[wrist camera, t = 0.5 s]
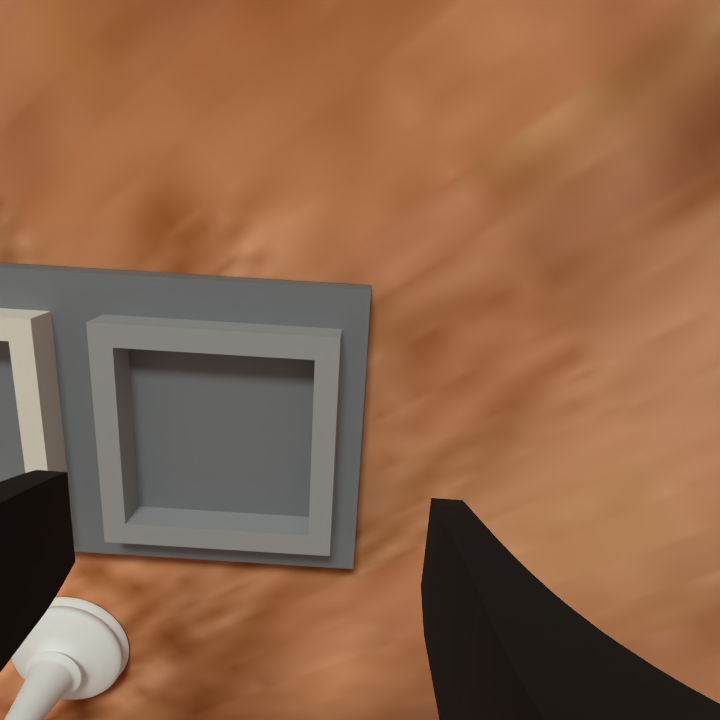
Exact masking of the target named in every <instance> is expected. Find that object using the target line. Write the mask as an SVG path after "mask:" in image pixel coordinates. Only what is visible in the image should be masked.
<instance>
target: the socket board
mask: <svg viewBox="0 0 720 720" xmlns="http://www.w3.org/2000/svg"><path fill="white" fill-rule="evenodd" d="M370 302H371V285H358V284H342V283H325V282H309V281H292V280H276V279H260V278H243V277H227V276H211V275H194V274H178V273H162V272H145V271H129V270H112V269H96V268H80V267H63V266H47V265H31V264H14V263H0V482H1V481H4V480H6V479H9V478H12V477H15V476H18V475H21V474H24V473H27V472H31V471H35V470H45V471H59V472H67V474H68V485H69V496H70V508H71V519H72V530H73V541H74V552H89V553H105V554H121V555H137V556H153V557H169V558H185V559H201V560H217V561H232V562H248V563H264V564H280V565H296V566H312V567H328V568H344V569H353V566H354V551H355V535H356V520H357V504H358V489H359V473H360V457H361V442H362V426H363V411H364V395H365V379H366V364H367V348H368V333H369V317H370Z"/></svg>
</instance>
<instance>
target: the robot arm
mask: <svg viewBox="0 0 720 720" xmlns="http://www.w3.org/2000/svg"><path fill="white" fill-rule="evenodd" d="M74 563H75V553H74V541H73V530H72V519H71V508H70V496H69V485H68V474H67V472H59V471H45V470H35V471H31V472H27V473H24V474H21V475H18V476H15V477H12V478H9V479H6V480H4V481H1V482H0V672H1V670H2V669H3V668H4V666H5V665H6V664H7V663H8V661H9V660H10V659H11V657H12V656H13V655H14V653H15V652H16V651H17V650H18V648H19V647H20V646H21V644H22V643H23V642H24V640H25V639H26V638H27V636H28V635H29V634H30V632H31V631H32V630H33V628H34V627H35V626H36V624H37V623H38V622H39V620H40V619H41V618H42V616H43V615H44V614H45V612H46V611H47V609H48V608H49V607H50V605H51V603H52V602H53V600H54V598H55V597H56V595H57V593H58V591H59V590H60V588H61V586H62V585H63V583H64V581H65V579H66V577H67V575H68V574H69V572H70V570H71V568H72V566H73V564H74ZM421 593H422V610H423V625H424V636H425V642H426V648H427V654H428V659H429V665H430V670H431V676H432V681H433V686H434V692H435V697H436V703H437V708H438V713H439V719H440V720H720V704H719V703H717V702H715V701H713V700H711V699H710V698H708V697H706V696H704V695H702V694H701V693H699V692H697V691H695V690H693V689H691V688H690V687H688V686H686V685H684V684H683V683H681V682H679V681H678V680H676V679H674V678H673V677H671V676H669V675H667V674H666V673H664V672H662V671H661V670H659V669H657V668H656V667H654V666H653V665H651V664H650V663H648V662H647V661H645V660H644V659H642V658H640V657H639V656H637V655H636V654H634V653H633V652H631V651H630V650H628V649H627V648H625V647H624V646H622V645H621V644H619V643H618V642H616V641H615V640H613V639H612V638H610V637H609V636H608V635H606V634H605V633H603V632H602V631H601V630H599V629H598V628H597V627H595V626H594V625H593V624H591V623H590V622H589V621H587V620H586V619H585V618H584V617H582V616H581V615H580V614H578V613H577V612H576V611H574V610H573V609H572V608H571V607H569V606H568V605H567V604H566V603H564V602H563V601H562V600H561V599H560V598H558V597H557V596H556V595H555V594H554V593H553V592H551V591H550V590H549V589H548V588H547V587H546V586H545V585H544V584H543V583H542V582H540V581H539V580H538V579H537V578H536V577H535V576H534V575H533V574H532V573H531V572H529V571H528V570H527V569H526V568H525V567H524V566H523V565H522V564H521V563H520V562H519V561H518V560H517V559H516V558H515V557H514V556H513V555H512V554H511V553H510V552H509V551H508V550H507V549H506V548H505V547H504V546H503V544H502V543H501V542H500V541H499V540H498V539H497V538H496V537H495V536H494V535H493V534H492V533H491V532H490V530H489V529H488V528H487V527H486V526H485V525H484V524H483V523H482V522H481V520H480V519H479V518H478V517H477V516H476V515H475V514H474V513H473V511H472V510H471V509H470V508H469V507H468V506H467V505H466V504H465V503H464V502H463V501H462V500H450V499H436V498H431V506H430V515H429V523H428V532H427V540H426V549H425V557H424V566H423V574H422V583H421Z"/></svg>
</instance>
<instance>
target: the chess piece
mask: <svg viewBox="0 0 720 720" xmlns="http://www.w3.org/2000/svg"><path fill="white" fill-rule="evenodd" d="M128 657H129V644H128V639H127V636H126V634H125V632H124V630H123V628H122V627H121V625H120V624H119V623H118V621H117V620H116V619H115V618H114V617H113V616H112V615H111V614H109V613H108V612H107V611H106V610H104V609H103V608H101V607H99V606H97V605H95V604H93V603H91V602H88V601H85V600H82V599H77V598H71V597H56V598H54V600H53V602H52V603H51V605H50V607H49V608H48V609H47V611H46V612H45V614H44V615H43V616H42V618H41V619H40V620H39V622H38V623H37V624H36V626H35V627H34V628H33V630H32V631H31V632H30V634H29V635H28V636H27V638H26V639H25V640H24V642H23V643H22V644H21V646H20V647H19V648H18V650H17V651H16V652H15V653H14V655H13V656H12V657H11V659H12V662H13V664H14V666H15V668H16V670H17V671H18V673H19V674H20V675H21V676H22V678H23V679H24V680H25V682H24V684H23V686H22V688H21V690H20V691H19V693H18V695H17V697H16V699H15V701H14V703H13V704H12V706H11V708H10V710H9V712H8V714H7V715H6V717H5V719H4V720H44V718H45V717H46V716H47V715H48V713H49V712H50V711H51V710H52V708H53V707H54V706H55V705H56V703H57V702H58V701H59V700H60V699H61V698H62V699H71V700H76V699H85V698H90V697H93V696H96V695H98V694H100V693H102V692H104V691H105V690H107V689H108V688H109V687H110V686H111V685H112V684H113V683H114V682H115V681H116V679H117V678H118V676H119V675H120V674H121V673H122V671H123V670H124V668H125V666H126V664H127V661H128Z"/></svg>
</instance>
